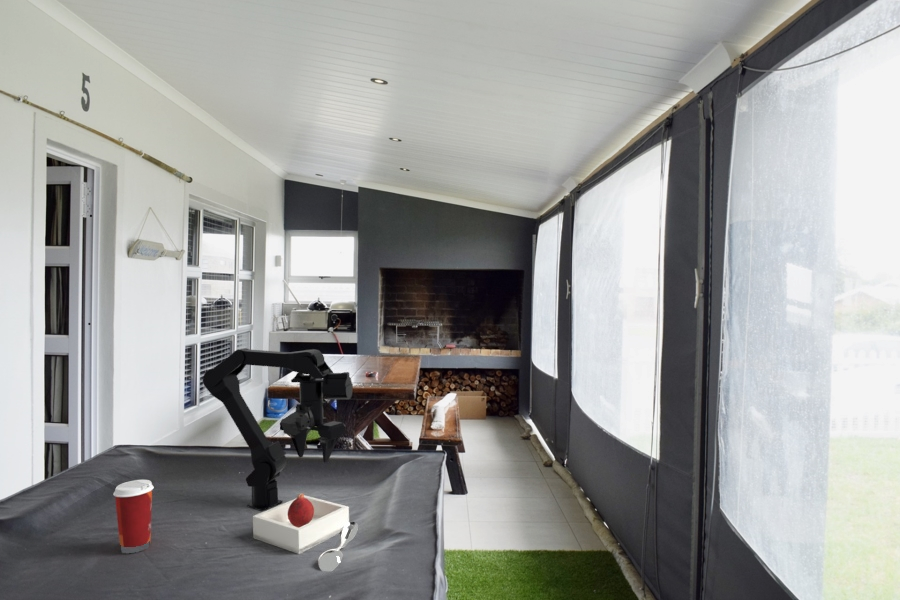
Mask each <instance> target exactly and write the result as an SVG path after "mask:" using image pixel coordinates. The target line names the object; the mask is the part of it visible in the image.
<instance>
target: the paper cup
mask: <svg viewBox="0 0 900 600" xmlns="http://www.w3.org/2000/svg"><path fill="white" fill-rule="evenodd" d="M115 487H116V488H114V489H115V490H114V492H113V494H112V495H113V496H114V499H115V508H116V518H117V528H118V537H119V538H118V539H119V546H120V545H121V546H123V547H136V546H141V545H144V544H146V543H148V542H149V541H150V542H151V533H152V510H153V509H152V508H153V507H152V505H153V504H152V503H153V501H152V499H153V489H154V488H155V487H154V485H153V483H152V481H151V480H149V479H134V480H129V481H125V482H122V483H120V484H118V485H117V486H115Z"/></svg>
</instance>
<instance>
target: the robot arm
mask: <svg viewBox="0 0 900 600" xmlns="http://www.w3.org/2000/svg"><path fill="white" fill-rule="evenodd" d="M246 366H259V367H270V368H273V367H274V368H282V369H283V368H284V369H287V370H290V371H292V372H295V373H296V375H294V377H293V378H292V379H291V380H290V382H291V383H299V403H297V404H296V406H295V411H294V412H292V413H290V414H288V415H287V416H286V417H284V418H282V419H281V420H280V422H279V430H280V431H283V434H285V435H286V436H288V437H290V439H291V441H292V443H293V446H294V448H295V451H296V453H297V456H298V458H300V459H301V458H303V457H304V453H305V446H306V440H307V435H308V431H316V432H317V434H318V436H319V437H317V439H318V441H319V442H320V443H321V450H322V452H321V453H322V459H323V463H325V464H326V463H328V462H329V460H330V457H331V455H332V453H333V450H334V448H335V446H336V445H337V442H338V440H339V438H341V437H343V435H344V434H346V432H347V431H346V427H347V426H346V424H345V423H344V422H341V421H330V422H328V418H327V417H326V416H325V417H324V407H327V401H324V398H323V397H325V398H326V399H327V400H351V398H352V396H353V390H354V389H353V388H354V386H353V385H354V384H353V383H352V378H351V377H350V372H349V371H344V372H333V370H332V368H330V366H329V365H328V363H327V362H326V361H325V356H324V354H323V353H322V352H321V351H320V350H319V349H314V348H312V349H305V350H299V351H291V352H289V351H276V350H261V349H259V350H258V349H250V348H247V347H246V348H239V349H236V350H234V351H233V352H232V353H231V354H230V355H229V356H228V357H227V358H225V359H224V360H222V361H220V363H218V364H217V365H216V366H215V367H212V368H210V369H208V370H206V371H205V373H204V375H203V378H202V384H203V386H204V388H206V390H207V391H208V392H209V393H210V395H211V396H213V397H214V398H215V399H217V400H218V401H220V402H221V403H222V404H223V406H224V407H225V410H226V411H227V412H228V414H229V416H230V417H231V419H232V421H233V423H234V425H235V426H236V428H237V430H238V432H240V434H241V436H242V438H243V440H244V441H245V444H247V446H248V448H249V450H250V459H251V460H250V461H251V464H252V467H253V470H252V472H251V473H250V474H248V476H246V478H245V482H246V484H247V486H248V488H249V487H250V488H251V501H250V502H249V503H247V504H246V506H247V507H248V506H249V507H248V508H251V507H252V509H255V510H258V511H262V512H264V511H267V510H269V509H272V508H274V507H277V506H279V505H281V504H283V500H282V499H279V497H278V496H279V489H278V481H277V480H276V479H277V478H278V477H279V476H281V471H282V470H284V469H285V467H286V465H287V462H288V460H287V457H286V455H287V452H286V451H284V449H283V447H282V445H281V443H280V442H279V441H278V440H276V441H275V442H274V443H273V442H272V441H271V440H269V439H268V437H266V434H265V433H264V431H263V429H262V428H261V426H260V424H259V423H258V421H257V419H256V418H255V416H254V414H253V413H252V411H251V409H250V407H249V406H248V404H247V403H246V401H245V399H244V397H243V395H242V394H241V388H240V380H239V378H238V375H239V374H241V372H242V371H243V370H244V369H245V367H246Z"/></svg>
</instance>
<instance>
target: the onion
mask: <svg viewBox="0 0 900 600" xmlns="http://www.w3.org/2000/svg"><path fill="white" fill-rule="evenodd" d="M304 495H305V494H304V493H302V492H301V493H300V494H298V496H297V497H296V498H297V499H296V498H294V499H295V500H294V499H293V500H294V501H293V502H292V503H291V505H290V507H289V509H288V519H289V521H290V523H291V524H292V525H293V526H295V527H298V528H300V527H302V526H304V525H306V524H308V523H309V522H310V521H311V520H312V518H313V516H314V507H313V505H312V503H311V502H310V501H309V500H308V499H306V498H304Z"/></svg>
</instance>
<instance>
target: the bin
mask: <svg viewBox="0 0 900 600" xmlns="http://www.w3.org/2000/svg"><path fill="white" fill-rule="evenodd" d="M304 498H306V499H308V500H309V501H310V502H311V503H312V505H313V507H314V516H313V518H312V520H311V521H310V522H309V523H308V524H306V525H304V526H302V527H300V528H298V527H295V526H293V525H292V524H291V523H290V521H289V519H288V509H289V507H290V505H291V503H292V502H293V501H294V500H295V499H297V497H296V498H294V499H291V500H289V501H287V502H284V503H280V504H278V505H276V506H273V507H271V508H268V509H266V510H263V511H262V512H259V513H256V514H255V515H253V516H252V529H253V533H252V534H253V536H252V537H253V539H255V540H258V541H259V542H263V543H265V544H269V545H271V546H274V547H276V548H280V549H283V550H286V551H289V552H291V553H295V554H297V555H300V554H302V553H305V552H307V551H308V550H310V549H312V548H314V547H315V546H318V545H319V544H322V543H323V542H326V541H328V540H329V539H331V538H333V537H334V536H338V535H339V534H340V533H341V534H342V530H343V528H344V526H345V525H346V524H347V523H350V507H349V506H346V505H344V504H340V503H336V502H332V501H329V500H325V499H324V500H323V499H320V498H317V497H313V496H309V495H305V494H304ZM348 529H350V526H349V527H348Z"/></svg>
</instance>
